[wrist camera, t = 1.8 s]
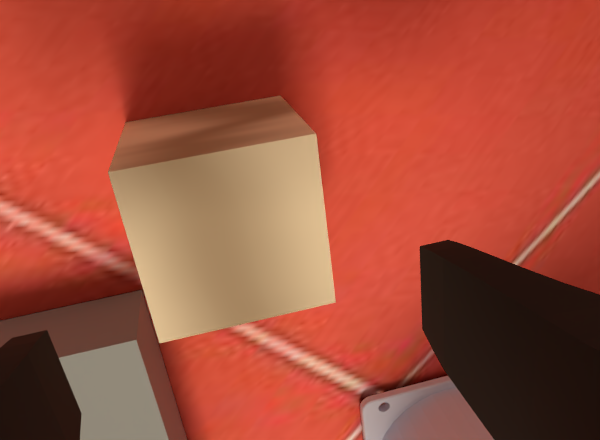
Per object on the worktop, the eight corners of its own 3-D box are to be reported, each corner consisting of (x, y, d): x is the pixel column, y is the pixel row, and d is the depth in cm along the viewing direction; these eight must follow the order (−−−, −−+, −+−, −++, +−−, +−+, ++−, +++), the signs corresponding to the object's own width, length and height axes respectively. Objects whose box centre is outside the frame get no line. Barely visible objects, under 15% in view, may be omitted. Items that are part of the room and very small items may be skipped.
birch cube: (279, 94, 17) (316, 133, 13) (298, 229, 20) (335, 302, 15) (125, 121, 17) (108, 172, 12) (162, 258, 19) (159, 343, 14)
